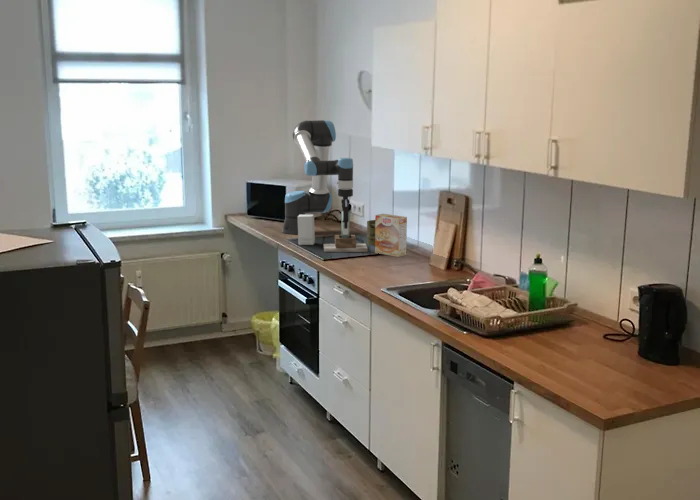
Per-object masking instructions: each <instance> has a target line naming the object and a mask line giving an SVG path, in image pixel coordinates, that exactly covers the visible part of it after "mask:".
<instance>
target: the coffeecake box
mask: <svg viewBox="0 0 700 500" xmlns="http://www.w3.org/2000/svg"><path fill="white" fill-rule="evenodd" d="M374 220H375V246H374V254H378V253H379V254H380V255H385V256H390V257H396V258H397V257H398V258H400V257H403V256H407V236H408V235H407V232H408V229H407V227H408V217H407V216H403V215H395V214H390V213H389V214H388V213H380V214H376V215H375V219H374Z"/></svg>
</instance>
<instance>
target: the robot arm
mask: <svg viewBox="0 0 700 500" xmlns="http://www.w3.org/2000/svg"><path fill="white" fill-rule="evenodd" d="M336 136H337V134H336V128H335V125H334V123H333V122H332V121H331V120H325V119H321V120H303V121H301V122H299V123H297V125H296V126H295V127H294V128H293V132H292V140H293V142H294V144H295V145H297V146H298V148H299V150H300V152H301V155H302V157H303V160H304V161H305V162H304V165H303V170H304V174H305V175H306V176H310V177H311V187H309V189H308V192H307V193H306V191H305V190H295V191H290V192H287V193H286V194H285V197H284V216H285V217H284V221H283V225H282V230H281V231H282V233H283V234H288V235H298V216H299V215H307V214H323V213H325V214H326V213H328V212H329V211H330V210H331V207H332V205H333V204H332V203H333V196H332V193H331V192H330V190H329V189H328V186H327V185H328V184H327V183H328V176H337V182H336V184H337V185H338V186H337V187H338V190H337V195H338V197H341V198H342V199H341V208H342V209H341V212H342V211H343V221H342V220H341V223H342V222H343V235H348V221H349V222H350V219H349V220H348V214H349V215H350V211H349V210H350V199H349V197H350V198H351V197H353V195H354V189H353V188H354V161H353V158H351V157H340V158H338V159H334V160H329V150H330V147H332V145H333V143H334V142H335V141H336V138H337V137H336Z"/></svg>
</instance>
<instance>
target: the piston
mask: <svg viewBox="0 0 700 500" xmlns="http://www.w3.org/2000/svg"><path fill="white" fill-rule="evenodd" d="M366 233H367V234H366V245H368V244H369V245H368V246H371V245H375V219H373V220H372V219H370V220H367V221H366Z"/></svg>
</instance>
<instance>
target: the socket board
mask: <svg viewBox="0 0 700 500" xmlns="http://www.w3.org/2000/svg"><path fill="white" fill-rule="evenodd" d="M368 251H369V250H368V246H367V243H366V242H365V243H364V242H363V243H359V242H358V243H357V237H356V235H355V234H349V238H341V234H334V243H323V252H324V253H348V252H349V253H353V252H355V253H357V252H358V253H360V252H361V253H362V252H363V253H365V252H366V253H367V252H368Z"/></svg>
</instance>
